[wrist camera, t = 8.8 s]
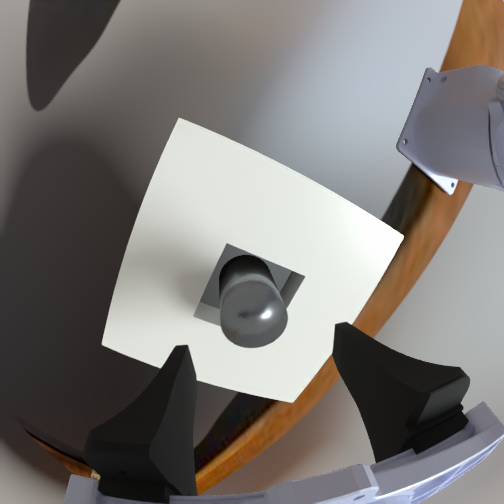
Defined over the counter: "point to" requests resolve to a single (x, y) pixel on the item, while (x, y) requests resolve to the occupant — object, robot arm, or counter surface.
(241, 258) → the pin
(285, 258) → the socket block
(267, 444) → the counter surface
